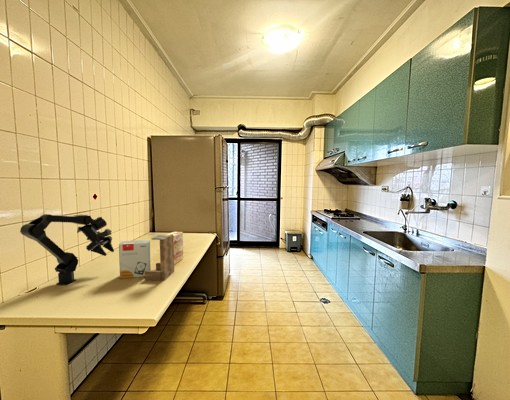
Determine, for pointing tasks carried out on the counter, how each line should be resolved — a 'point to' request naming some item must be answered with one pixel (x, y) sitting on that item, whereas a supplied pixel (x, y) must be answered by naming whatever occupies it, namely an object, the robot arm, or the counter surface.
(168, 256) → the bracket
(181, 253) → the coffeecake box
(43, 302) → the counter surface
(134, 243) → the hard drive box
